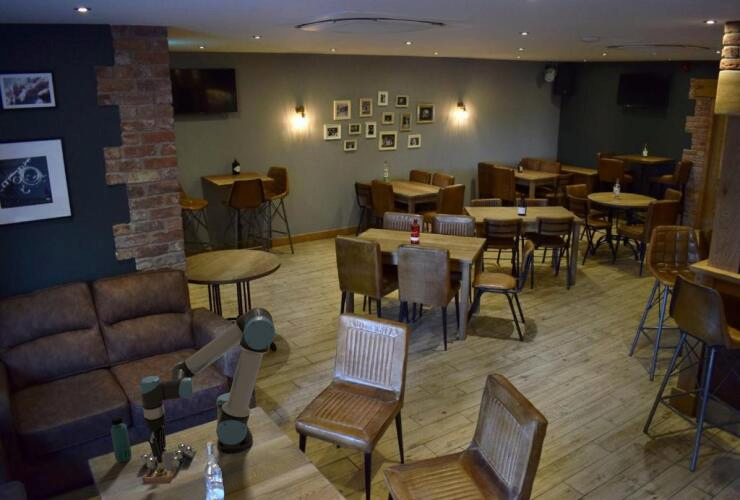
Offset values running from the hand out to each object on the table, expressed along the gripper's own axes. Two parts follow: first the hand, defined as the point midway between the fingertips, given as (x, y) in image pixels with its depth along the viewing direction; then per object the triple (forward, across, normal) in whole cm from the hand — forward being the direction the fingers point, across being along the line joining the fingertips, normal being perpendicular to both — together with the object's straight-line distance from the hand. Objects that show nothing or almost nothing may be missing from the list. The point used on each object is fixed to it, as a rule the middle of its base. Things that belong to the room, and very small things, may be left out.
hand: (162, 467), depth 233 cm
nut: (+2, +3, 0) cm, 3 cm away
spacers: (+1, -6, 0) cm, 6 cm away
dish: (+3, +3, 0) cm, 4 cm away
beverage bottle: (+3, -10, -20) cm, 22 cm away
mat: (+3, -7, 0) cm, 7 cm away
